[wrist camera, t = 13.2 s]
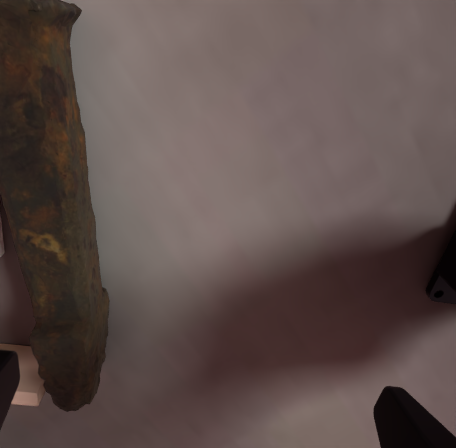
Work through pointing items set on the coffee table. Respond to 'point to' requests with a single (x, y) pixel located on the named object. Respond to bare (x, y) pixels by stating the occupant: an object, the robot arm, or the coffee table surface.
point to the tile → (1, 239)
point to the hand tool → (51, 197)
